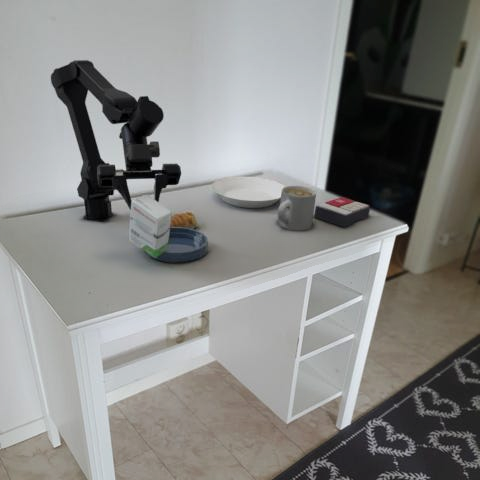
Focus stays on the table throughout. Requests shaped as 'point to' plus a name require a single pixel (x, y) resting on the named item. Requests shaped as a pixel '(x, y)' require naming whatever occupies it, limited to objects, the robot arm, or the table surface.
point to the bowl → (248, 191)
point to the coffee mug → (296, 207)
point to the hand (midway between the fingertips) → (144, 209)
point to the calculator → (341, 211)
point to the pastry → (184, 220)
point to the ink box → (149, 225)
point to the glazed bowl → (184, 245)
